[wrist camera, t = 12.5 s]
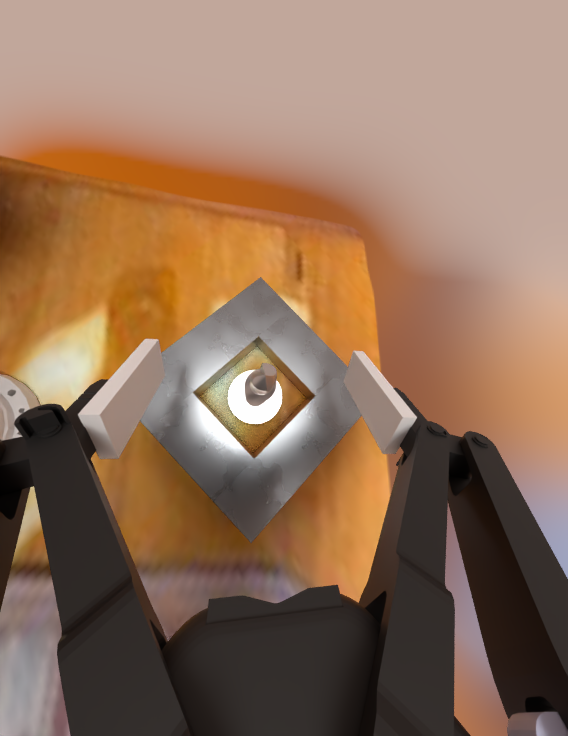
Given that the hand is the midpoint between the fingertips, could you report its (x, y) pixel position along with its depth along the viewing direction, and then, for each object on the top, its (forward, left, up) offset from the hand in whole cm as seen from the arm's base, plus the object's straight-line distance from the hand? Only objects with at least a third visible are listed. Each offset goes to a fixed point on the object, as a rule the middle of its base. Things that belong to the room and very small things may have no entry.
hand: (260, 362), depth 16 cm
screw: (+1, -1, -8) cm, 8 cm away
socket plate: (+1, -1, -7) cm, 8 cm away
